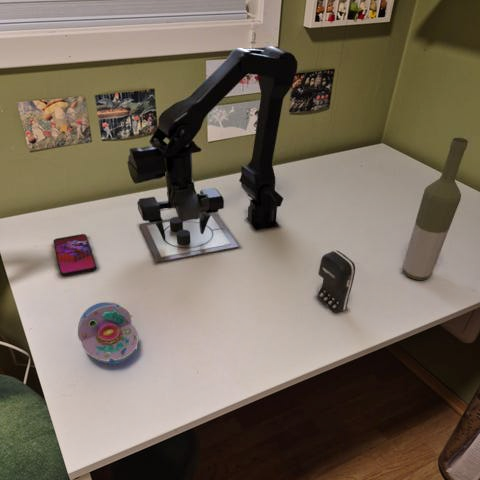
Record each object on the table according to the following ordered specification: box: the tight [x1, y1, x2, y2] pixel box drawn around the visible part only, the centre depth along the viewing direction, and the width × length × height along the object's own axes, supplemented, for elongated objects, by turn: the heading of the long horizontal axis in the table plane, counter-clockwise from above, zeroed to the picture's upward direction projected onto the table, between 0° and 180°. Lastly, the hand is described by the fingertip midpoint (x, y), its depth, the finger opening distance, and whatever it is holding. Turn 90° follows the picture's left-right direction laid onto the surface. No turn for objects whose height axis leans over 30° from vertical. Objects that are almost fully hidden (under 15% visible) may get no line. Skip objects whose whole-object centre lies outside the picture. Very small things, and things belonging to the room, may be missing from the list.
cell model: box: [77, 301, 139, 364], centre depth 81 cm, size 10×12×10 cm
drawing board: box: [139, 212, 240, 264], centre depth 115 cm, size 20×18×1 cm
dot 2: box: [177, 230, 191, 246], centre depth 111 cm, size 3×3×2 cm
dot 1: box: [169, 216, 183, 232], centre depth 115 cm, size 3×3×2 cm
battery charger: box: [317, 250, 356, 313], centre depth 93 cm, size 7×4×11 cm, turn 31°
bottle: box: [402, 137, 469, 281], centre depth 96 cm, size 7×7×30 cm
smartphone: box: [53, 233, 97, 277], centre depth 107 cm, size 8×1×15 cm
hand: (183, 236), depth 111 cm, fingers open, 9 cm apart
